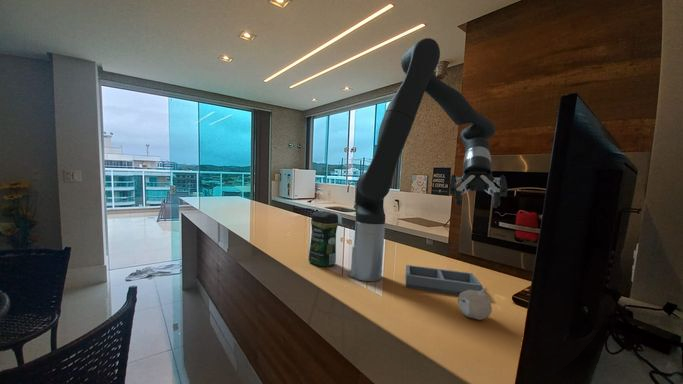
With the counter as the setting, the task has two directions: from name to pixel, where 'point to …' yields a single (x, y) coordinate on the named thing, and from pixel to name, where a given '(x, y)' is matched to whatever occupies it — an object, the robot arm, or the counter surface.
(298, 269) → the counter surface
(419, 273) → the tray
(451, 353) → the counter surface
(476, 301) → the garlic bulb
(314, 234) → the coffee jar
